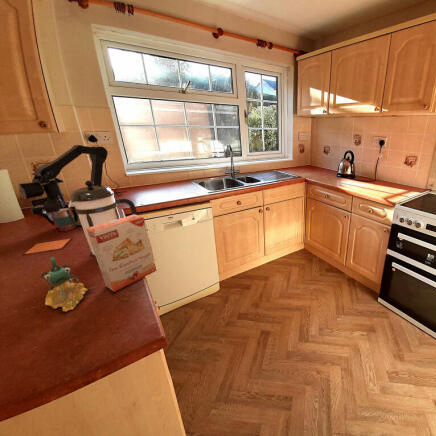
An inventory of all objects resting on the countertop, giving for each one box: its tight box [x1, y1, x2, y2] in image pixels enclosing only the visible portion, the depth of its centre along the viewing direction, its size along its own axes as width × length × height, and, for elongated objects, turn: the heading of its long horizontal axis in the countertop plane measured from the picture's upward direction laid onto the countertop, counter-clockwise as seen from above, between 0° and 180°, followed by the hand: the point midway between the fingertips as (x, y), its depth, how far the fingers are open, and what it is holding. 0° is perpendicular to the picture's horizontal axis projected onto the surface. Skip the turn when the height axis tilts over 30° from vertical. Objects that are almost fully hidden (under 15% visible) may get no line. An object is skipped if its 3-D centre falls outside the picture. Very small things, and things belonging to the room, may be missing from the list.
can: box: [51, 208, 77, 232], centre depth 121 cm, size 6×6×10 cm
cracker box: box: [86, 214, 157, 293], centre depth 78 cm, size 14×6×21 cm, turn 148°
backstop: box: [72, 215, 82, 227], centre depth 126 cm, size 12×2×5 cm, turn 113°
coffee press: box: [68, 180, 139, 256], centre depth 95 cm, size 17×16×30 cm
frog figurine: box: [40, 256, 88, 312], centre depth 72 cm, size 10×18×15 cm, turn 44°
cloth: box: [24, 238, 71, 255], centre depth 105 cm, size 12×10×1 cm
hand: (65, 223), depth 122 cm, fingers open, 9 cm apart
